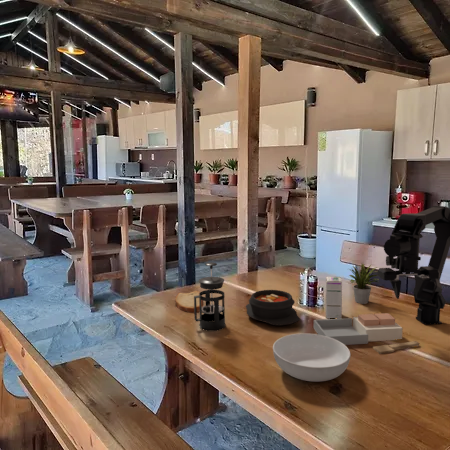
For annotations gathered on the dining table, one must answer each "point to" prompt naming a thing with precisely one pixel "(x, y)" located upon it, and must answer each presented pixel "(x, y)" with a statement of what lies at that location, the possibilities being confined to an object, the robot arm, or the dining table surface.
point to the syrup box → (333, 297)
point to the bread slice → (187, 301)
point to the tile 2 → (385, 319)
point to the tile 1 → (368, 319)
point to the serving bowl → (311, 356)
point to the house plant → (362, 284)
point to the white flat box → (378, 331)
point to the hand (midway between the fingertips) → (406, 298)
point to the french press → (209, 310)
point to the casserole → (272, 307)
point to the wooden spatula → (394, 347)
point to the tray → (340, 331)
